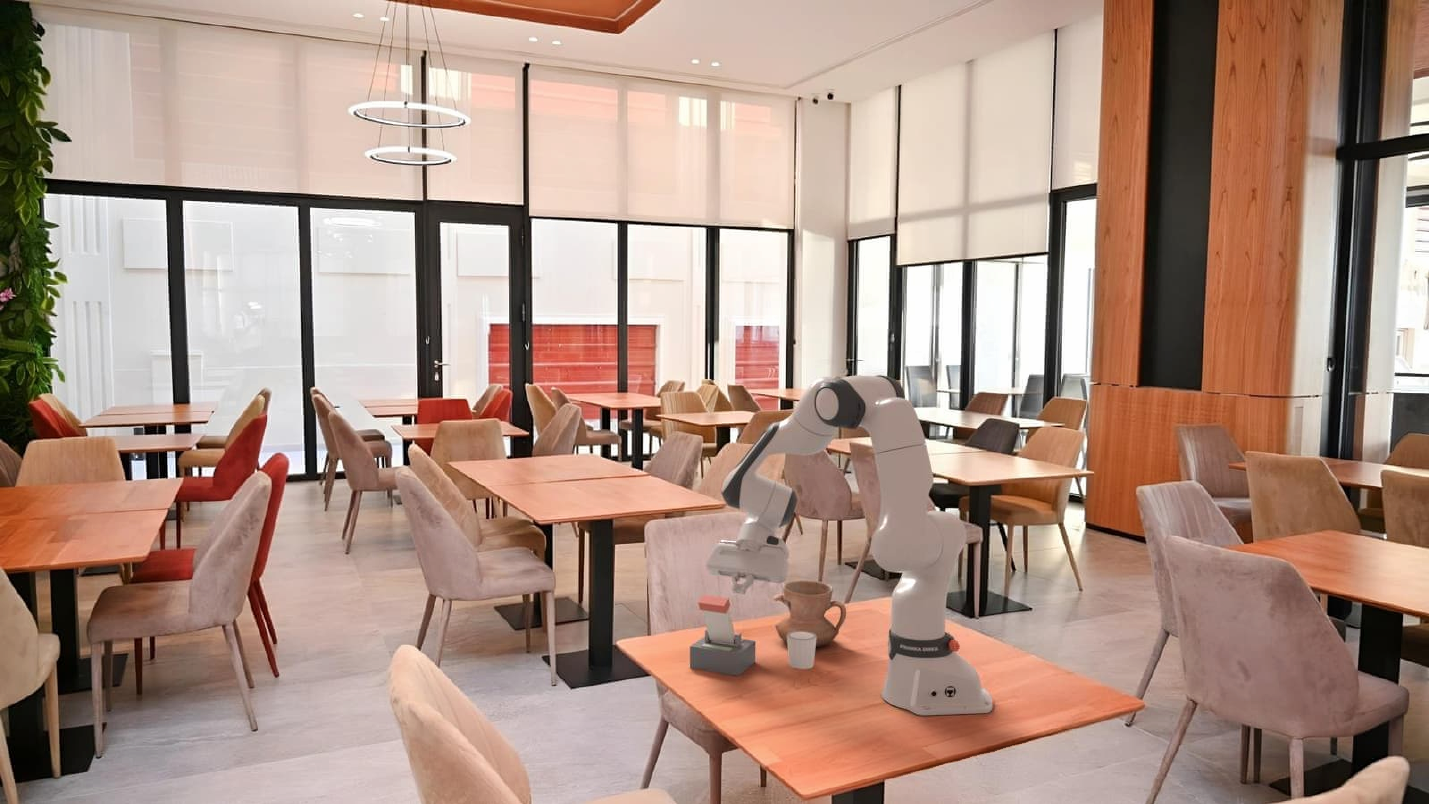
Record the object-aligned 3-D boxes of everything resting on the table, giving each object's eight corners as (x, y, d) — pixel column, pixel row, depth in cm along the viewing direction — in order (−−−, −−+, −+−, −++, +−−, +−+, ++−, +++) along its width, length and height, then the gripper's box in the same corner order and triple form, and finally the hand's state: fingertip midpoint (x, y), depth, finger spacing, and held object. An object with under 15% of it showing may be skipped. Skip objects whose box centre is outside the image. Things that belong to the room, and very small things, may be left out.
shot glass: (816, 660, 225) (816, 631, 224) (816, 670, 218) (816, 640, 217) (786, 659, 225) (787, 630, 225) (786, 669, 219) (786, 639, 218)
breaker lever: (713, 635, 223) (702, 594, 217) (738, 639, 221) (728, 598, 215) (708, 643, 221) (698, 602, 215) (734, 647, 219) (724, 606, 213)
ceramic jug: (766, 648, 233) (767, 590, 232) (779, 629, 247) (780, 575, 246) (840, 657, 228) (842, 598, 227) (849, 637, 242) (850, 582, 241)
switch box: (708, 654, 228) (708, 622, 228) (755, 662, 223) (755, 629, 223) (689, 667, 219) (690, 634, 219) (738, 675, 214) (738, 641, 214)
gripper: (712, 532, 239) (694, 580, 231) (789, 541, 231) (774, 590, 223) (719, 546, 244) (702, 593, 236) (795, 555, 235) (780, 604, 227)
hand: (738, 592), depth 229 cm, fingers closed
